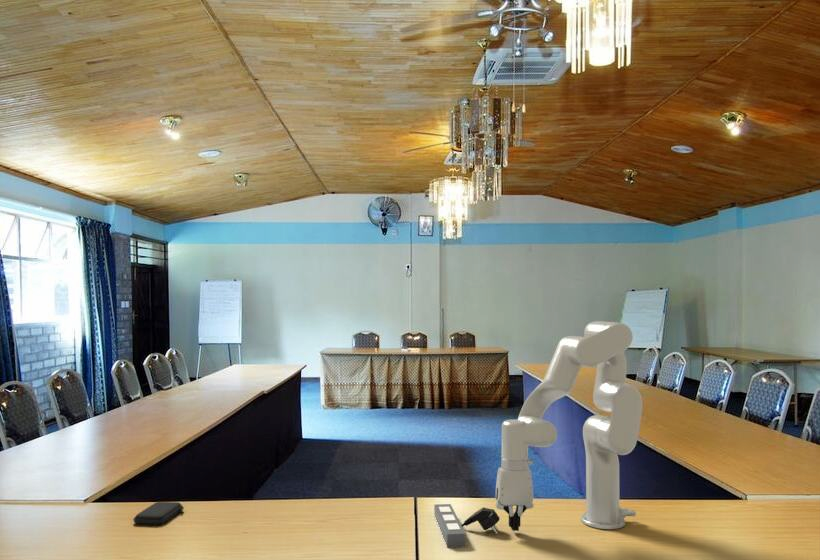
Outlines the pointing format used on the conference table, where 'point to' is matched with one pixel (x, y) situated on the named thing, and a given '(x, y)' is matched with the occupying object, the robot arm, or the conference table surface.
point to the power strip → (449, 525)
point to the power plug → (484, 519)
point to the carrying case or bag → (158, 513)
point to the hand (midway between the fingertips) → (514, 528)
